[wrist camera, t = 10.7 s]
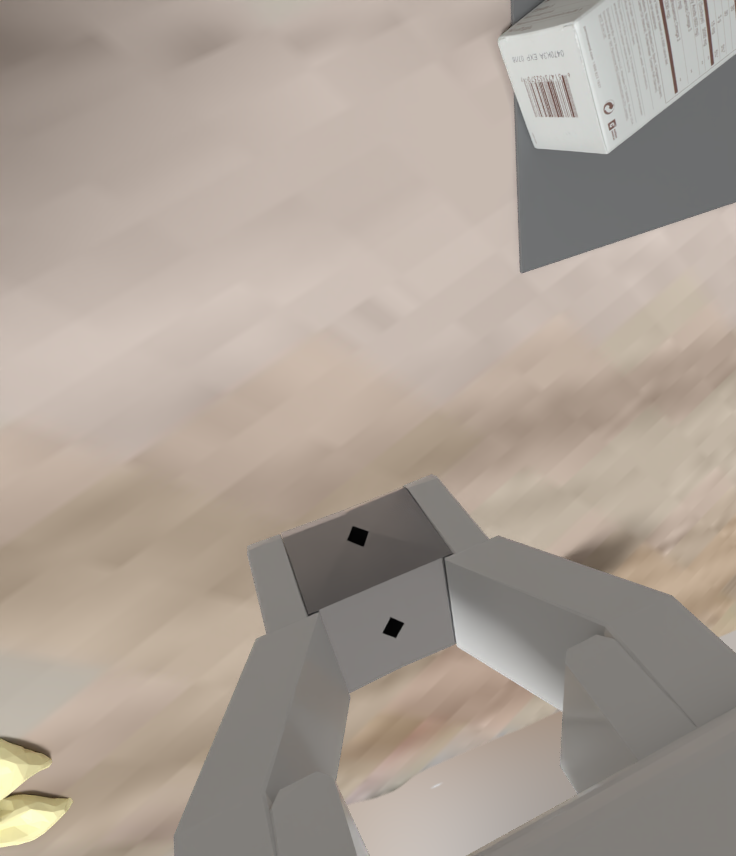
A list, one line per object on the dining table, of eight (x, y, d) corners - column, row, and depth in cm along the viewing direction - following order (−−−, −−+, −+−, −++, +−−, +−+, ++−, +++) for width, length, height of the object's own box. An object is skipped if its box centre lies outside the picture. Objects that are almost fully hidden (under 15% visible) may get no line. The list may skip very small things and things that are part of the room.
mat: (520, 272, 41) (522, 273, 41) (508, -74, 30) (511, -75, 30) (744, 197, 45) (747, 198, 45) (805, -129, 34) (809, -131, 34)
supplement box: (492, 37, 32) (658, -94, 32) (533, 152, 37) (679, 36, 36) (573, 16, 26) (778, -146, 26) (610, 157, 31) (786, 19, 30)
